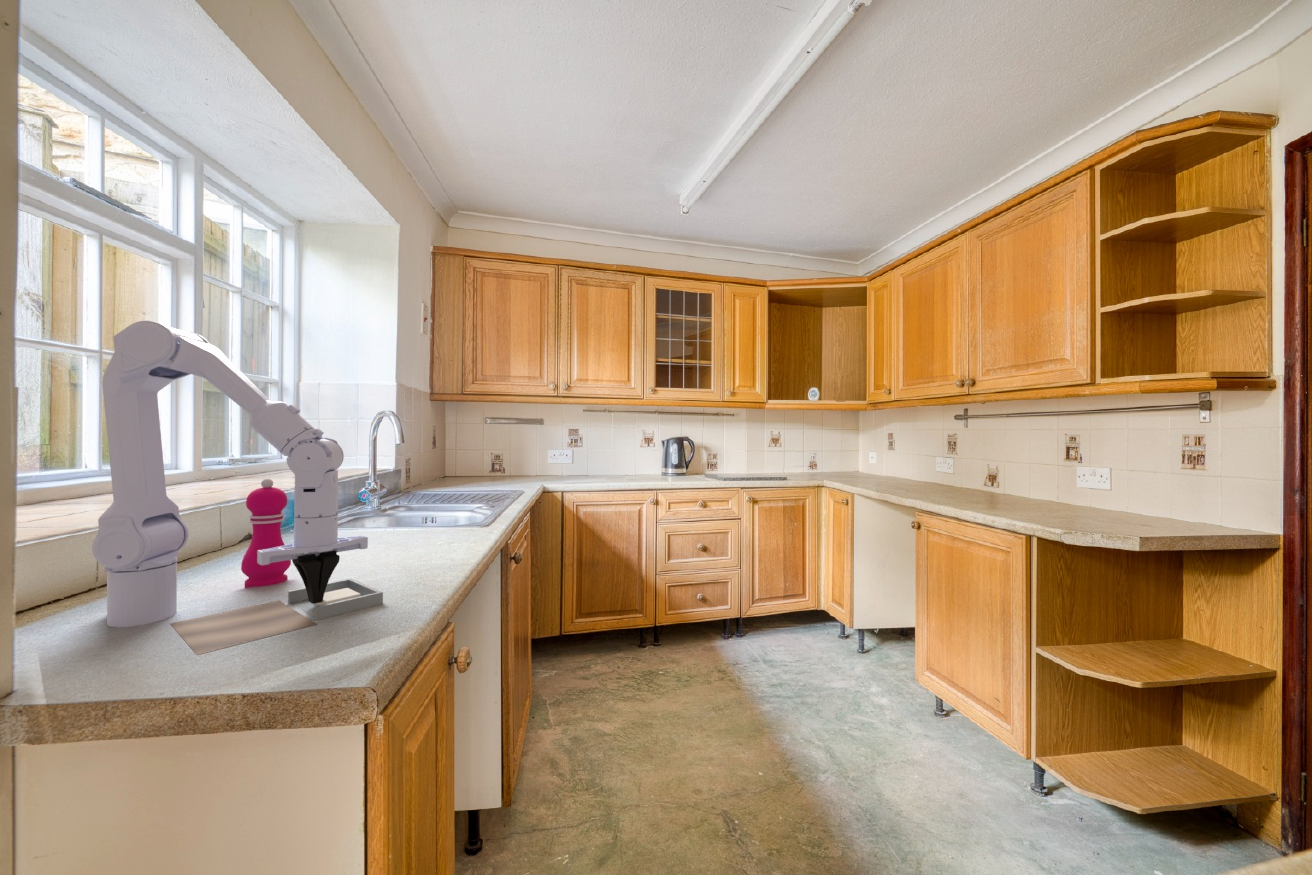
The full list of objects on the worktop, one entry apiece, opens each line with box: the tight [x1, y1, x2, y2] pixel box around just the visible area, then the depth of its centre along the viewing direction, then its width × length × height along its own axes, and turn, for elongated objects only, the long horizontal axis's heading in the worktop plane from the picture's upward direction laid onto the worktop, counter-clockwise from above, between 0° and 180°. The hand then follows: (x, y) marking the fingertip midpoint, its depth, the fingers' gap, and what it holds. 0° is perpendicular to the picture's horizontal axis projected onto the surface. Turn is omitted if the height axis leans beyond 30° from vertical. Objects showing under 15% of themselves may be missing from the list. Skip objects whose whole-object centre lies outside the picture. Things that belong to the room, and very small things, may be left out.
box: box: [283, 577, 384, 622], centre depth 82 cm, size 12×10×3 cm
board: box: [170, 600, 318, 656], centre depth 73 cm, size 16×13×1 cm
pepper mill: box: [240, 478, 292, 589], centre depth 93 cm, size 7×7×20 cm
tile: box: [314, 588, 361, 606], centre depth 82 cm, size 5×5×2 cm
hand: (315, 601), depth 80 cm, fingers closed
